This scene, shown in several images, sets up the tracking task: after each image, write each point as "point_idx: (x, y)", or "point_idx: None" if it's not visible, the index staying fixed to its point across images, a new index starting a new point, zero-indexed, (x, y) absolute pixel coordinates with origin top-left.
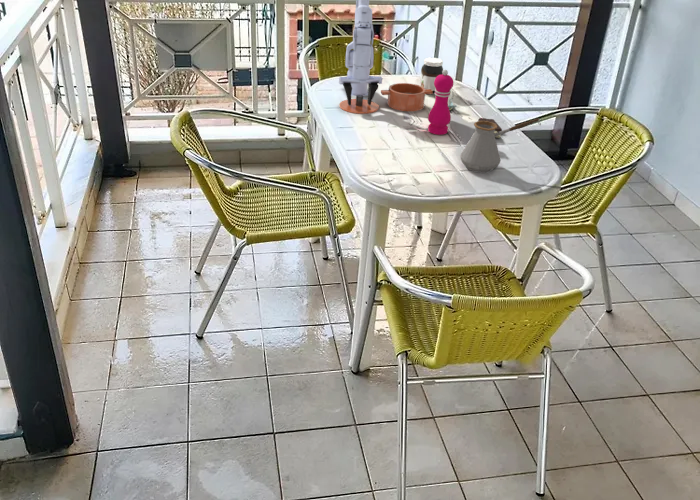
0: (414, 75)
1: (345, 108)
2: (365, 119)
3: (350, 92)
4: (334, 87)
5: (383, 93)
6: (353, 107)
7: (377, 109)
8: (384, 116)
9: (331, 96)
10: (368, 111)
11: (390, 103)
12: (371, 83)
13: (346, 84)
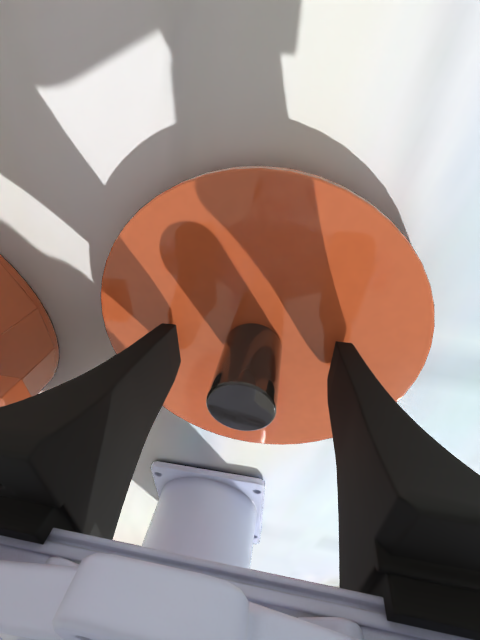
0: None
1: (410, 296)
2: (275, 5)
3: (386, 435)
4: (294, 553)
5: (2, 387)
6: (320, 307)
7: (113, 247)
8: (59, 111)
9: None
10: (202, 179)
11: (6, 313)
12: (40, 521)
13: (468, 596)
